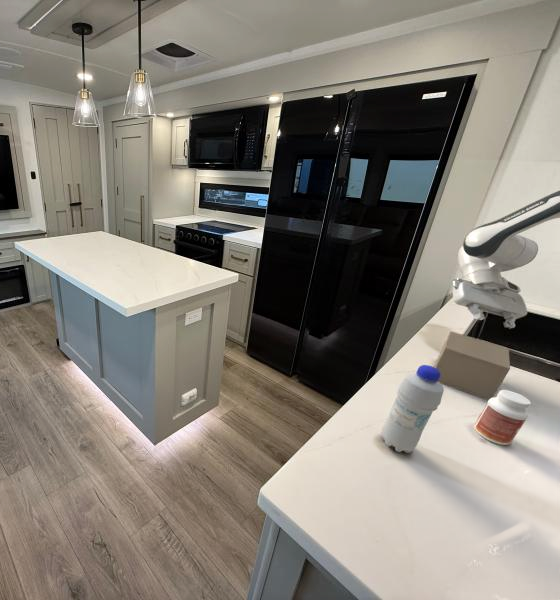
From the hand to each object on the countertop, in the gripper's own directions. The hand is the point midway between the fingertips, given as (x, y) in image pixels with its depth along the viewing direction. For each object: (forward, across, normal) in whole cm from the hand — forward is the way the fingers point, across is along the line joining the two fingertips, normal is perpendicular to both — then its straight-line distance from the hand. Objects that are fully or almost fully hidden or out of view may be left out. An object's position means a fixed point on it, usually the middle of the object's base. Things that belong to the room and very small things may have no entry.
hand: (494, 323), depth 93 cm
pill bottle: (+37, -18, -6) cm, 42 cm away
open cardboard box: (+18, -9, +6) cm, 21 cm away
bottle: (+45, -42, -7) cm, 62 cm away
